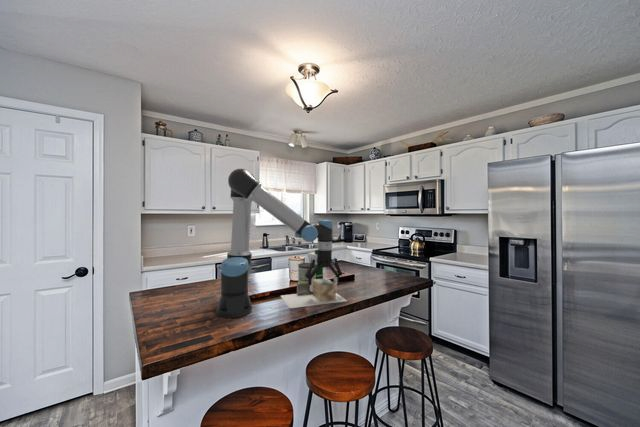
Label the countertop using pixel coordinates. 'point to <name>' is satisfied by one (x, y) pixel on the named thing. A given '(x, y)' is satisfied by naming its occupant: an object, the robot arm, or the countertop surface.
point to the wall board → (307, 300)
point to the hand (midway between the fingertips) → (323, 290)
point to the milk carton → (314, 256)
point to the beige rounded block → (324, 289)
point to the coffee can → (304, 272)
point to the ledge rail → (303, 289)
